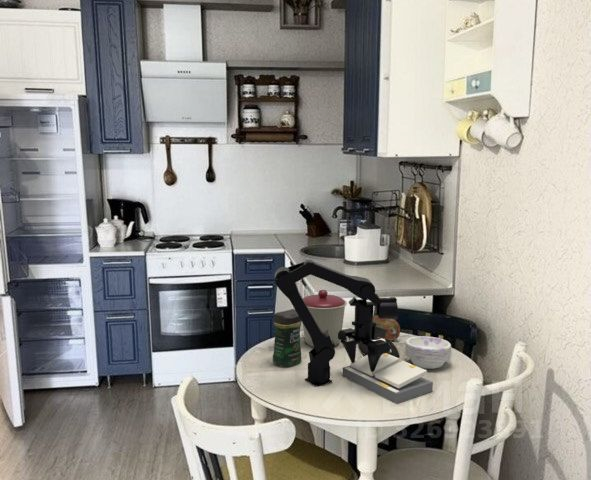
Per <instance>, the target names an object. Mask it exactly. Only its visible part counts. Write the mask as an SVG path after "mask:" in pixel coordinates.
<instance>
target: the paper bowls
mask: <svg viewBox="0 0 591 480" xmlns="http://www.w3.org/2000/svg"><path fill="white" fill-rule="evenodd" d="M404 344H405V347H404V354H405V356H406V357H407V358H409V359H410V360H411V363H412V365H415V366H417V367H420V368H422V369H425V370H431V369H433V370H435V369H439V368H441V367H442V366H443V365H444V364H445V363H446V362H449V361H450V360H451V355H452V353H451V352H452V351H451V350H452V344H451V343H450V342H449V341H448V340H446V339H443V338H439V337H434V336H429V335H428V336H426V335H422V336H421V335H419V336H411V337H408V338H407V339H406V340H405V343H404Z"/></svg>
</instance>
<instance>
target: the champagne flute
mask: <svg viewBox="0 0 591 480" xmlns="http://www.w3.org/2000/svg"><path fill="white" fill-rule="evenodd" d="M275 295H276V297H275V305H274V306H275V309H274V314H276V313H278V312H283V311H287V310H291V309H293V305H292V303H291V302H290V300H289V299H288V298H287V297H286V296H285V295H284V294H283V293H282V291H281V290H280V289H279V288H278V287H277V286H276V294H275Z"/></svg>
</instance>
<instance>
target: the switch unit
mask: <svg viewBox="0 0 591 480" xmlns="http://www.w3.org/2000/svg"><path fill="white" fill-rule="evenodd" d="M342 377H343V378H345V379H347V380H348V381H351V382H353V383H355V384H356V385H359V386H361V387H363V388H365V389H367V390H369V391H371V392H373V393H375V394H377V395H378V396H381V397H382V398H384V399H387V400H388V401H391V402H392V403H395V404H397V405H398V404H400V403H403V402H406V401H408V400H409V401H410V400H413V399H414V398H417V397H420V396H423V395H426V394H430V393H432V392H433V391H434V390H433V385H434V382H433V381H431V380H429V379H426V378H424V377H423V376H422V377H420V378H418V379H416V380H414V381H413V382H411V383H409V384H407V385H405V386H403V387H401V388H397V387H395V386H392V385H390V384H388V383H386V382H384V381H382V380H380V379H378V378H375V375H374V376H370V375H368V374H365V373H363V372H361V371H359V370H357V369H355V368H353V367H351V364H350V365H347V366H344V367H342Z"/></svg>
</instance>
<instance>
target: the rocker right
mask: <svg viewBox="0 0 591 480" xmlns="http://www.w3.org/2000/svg"><path fill="white" fill-rule="evenodd" d="M427 374H428V369H425V368H421V367H418V366H416V365H414V364H413V363H412V364H411V363H410V362H407V361H405V360H401V361H400V362H398V363H397V364H395V365H392V366H390V367H388V368H386V369H384V370H382V371H380V372H378V373H376V374H375V378H378V379H380V380H382V381H384V382H386V383H388V384H390V385H392V386H395V387H397V388H401V387H403V386H405V385H407V384H409V383H411V382H413V381H414V380H416V379H418V378H420V377H422V378H423V377H424V376H427Z"/></svg>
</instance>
